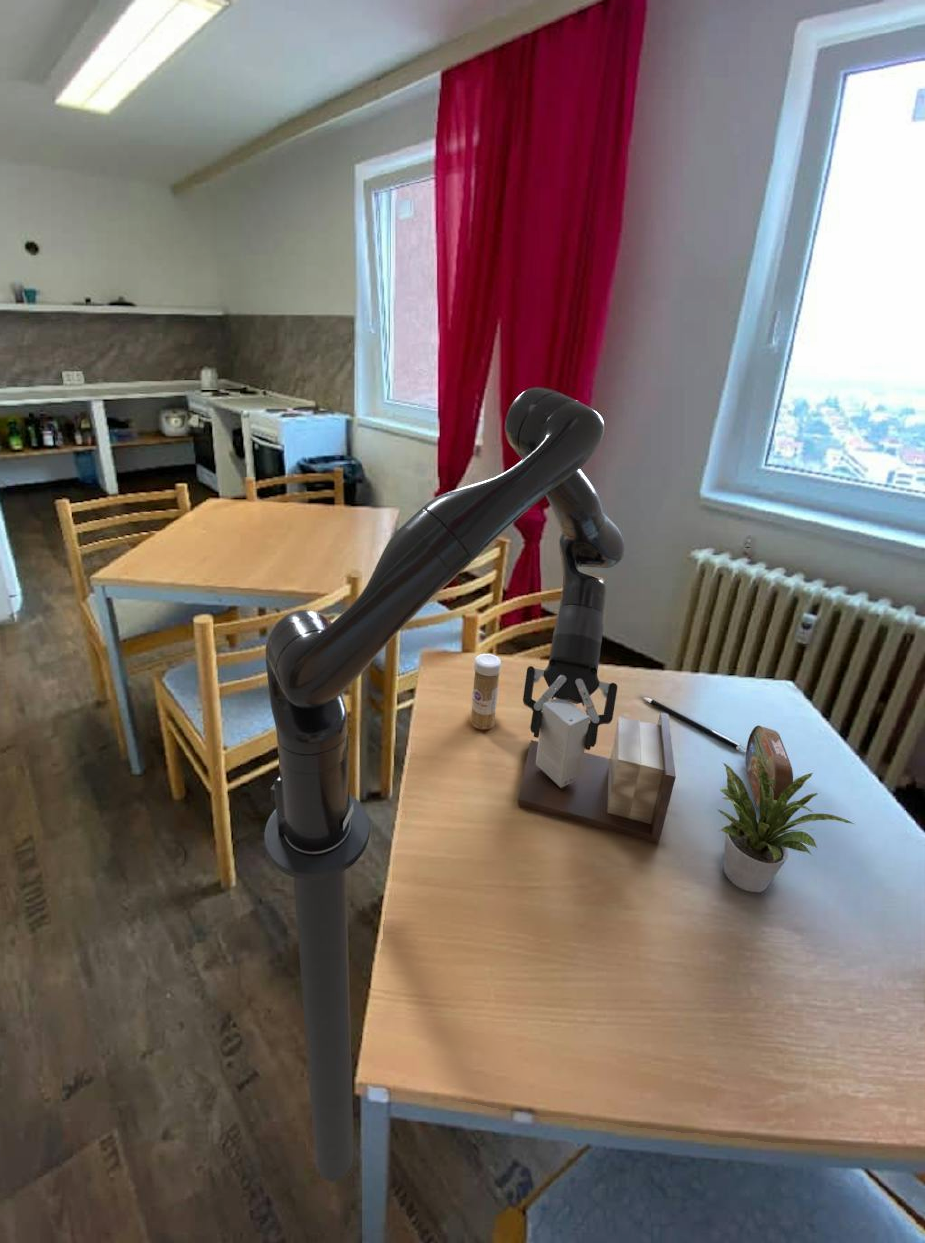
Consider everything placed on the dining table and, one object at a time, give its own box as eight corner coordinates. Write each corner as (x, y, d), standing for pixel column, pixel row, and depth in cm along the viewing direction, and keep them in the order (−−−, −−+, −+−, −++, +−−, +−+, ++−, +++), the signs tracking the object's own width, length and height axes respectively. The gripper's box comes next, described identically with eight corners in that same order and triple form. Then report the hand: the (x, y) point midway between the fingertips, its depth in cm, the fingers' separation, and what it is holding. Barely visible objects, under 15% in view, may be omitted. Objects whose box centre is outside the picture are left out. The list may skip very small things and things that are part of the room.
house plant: (816, 861, 80) (853, 769, 74) (822, 949, 69) (867, 848, 63) (702, 817, 87) (727, 729, 80) (691, 890, 76) (719, 795, 69)
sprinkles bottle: (465, 724, 105) (470, 661, 100) (477, 711, 109) (482, 649, 104) (488, 734, 103) (494, 670, 98) (499, 720, 106) (505, 658, 101)
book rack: (517, 805, 88) (525, 741, 84) (530, 745, 100) (537, 686, 96) (658, 843, 82) (675, 777, 78) (654, 775, 94) (668, 713, 90)
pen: (744, 755, 99) (746, 749, 99) (642, 700, 113) (642, 695, 113) (746, 752, 100) (748, 747, 99) (644, 698, 114) (645, 693, 113)
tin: (741, 754, 99) (754, 713, 96) (762, 758, 98) (775, 718, 95) (759, 821, 86) (774, 777, 83) (783, 827, 85) (799, 783, 82)
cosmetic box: (581, 779, 91) (591, 717, 86) (560, 789, 89) (570, 726, 84) (553, 754, 96) (562, 694, 91) (533, 764, 94) (541, 703, 89)
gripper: (531, 624, 93) (512, 729, 87) (626, 641, 88) (613, 752, 83) (532, 636, 99) (515, 734, 94) (621, 653, 95) (608, 756, 89)
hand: (561, 742), depth 88 cm, fingers closed on cosmetic box, 7 cm apart
